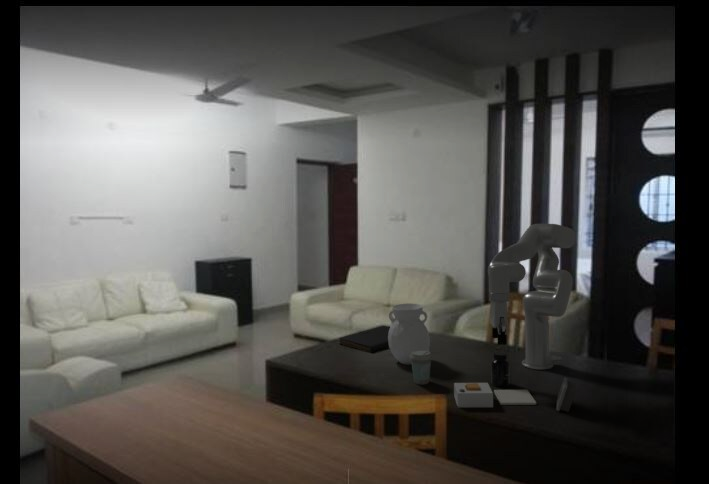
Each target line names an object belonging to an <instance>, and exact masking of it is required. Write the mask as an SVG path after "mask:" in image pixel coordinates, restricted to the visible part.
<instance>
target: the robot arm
mask: <svg viewBox="0 0 709 484" xmlns="http://www.w3.org/2000/svg"><path fill="white" fill-rule="evenodd" d="M575 243H576V234H575V231H574V230H573V229H572V228H570V227H568V226H564V225H561V224H557V223H534V224H531V225H529V226H528V227H527V228H526V230H525V231H524V233H523V234H522V236H521V237H520V238H519V239H518V241H517V242H516V243H515V244H512V245H509V246H508V247H506V248H504V249H502V250H501V251H499V252H497V253H496V254H495V256H494V257H493V259H492V260H491V261H490V263H489V264H488V267H487V275H488V301H489V302H490V304H489V306H490V310H489V323H490V325H491V326H492V333H491V334H492V338H493V339H497V345H498V346H505V345H507V327H508V302H510V283H519V282H521V281H522V280H524V279H525V277H526V274H527V271H526V268H525V265H523V264H522V263H520V262H524V261H527V260H531V259H533V258H534V257H535V256H536V254H538V258H537V259H538V260H537V264H536V266H535V267H536V268H535V270H534V274H533V278H532V286H533V288H534V289H536V290H538V291H536V290H532V291H528V292H526V293H525V294H524V295H523V297H522V308H523V312H524V320H525V321H524V323H525V327H524V328H525V330H524V332H525V333H524V335H525V337H524V338H525V339H524V340H525V358H524V359H522V361H521V364H522V366H523V367H525V368H527V369H531V370H538V371H539V370H541V371H542V370H549V369H552V368H553V367H554V362H562V357H561V356H556V355H551V354H550V323H549V320H548V319H547V317H554V318H559V317H562V316H564V315H565V313H566V311H567V310H568V309H567V308H568V305H569V300H570V297H571V294H572V293H571V292H572V290H573V284H574V281H573V276H572V274H571V272H569V271H568V270H565V269H559V265H560V259H559V257H558V255H557V253H556V251H555V250H554V249H570V248H572V247H573V246H574V245H575Z"/></svg>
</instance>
